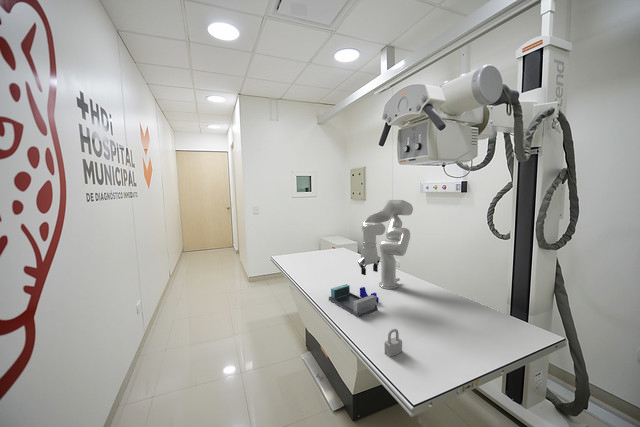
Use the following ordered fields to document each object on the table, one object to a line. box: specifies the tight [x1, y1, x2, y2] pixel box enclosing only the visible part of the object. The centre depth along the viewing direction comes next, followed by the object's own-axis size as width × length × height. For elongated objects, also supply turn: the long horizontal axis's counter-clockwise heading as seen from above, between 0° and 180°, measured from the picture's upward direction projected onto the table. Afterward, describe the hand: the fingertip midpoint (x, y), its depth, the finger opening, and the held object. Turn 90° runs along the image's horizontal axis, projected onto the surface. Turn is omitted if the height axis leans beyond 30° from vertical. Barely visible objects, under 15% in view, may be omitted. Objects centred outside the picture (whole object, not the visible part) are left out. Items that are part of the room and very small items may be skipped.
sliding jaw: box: [330, 283, 351, 299], centre depth 160 cm, size 12×3×6 cm, turn 124°
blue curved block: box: [359, 286, 380, 304], centre depth 158 cm, size 12×4×6 cm, turn 29°
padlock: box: [383, 328, 403, 358], centre depth 107 cm, size 7×4×10 cm, turn 118°
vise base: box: [328, 292, 379, 318], centre depth 151 cm, size 14×27×8 cm, turn 34°
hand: (369, 273), depth 157 cm, fingers open, 9 cm apart
